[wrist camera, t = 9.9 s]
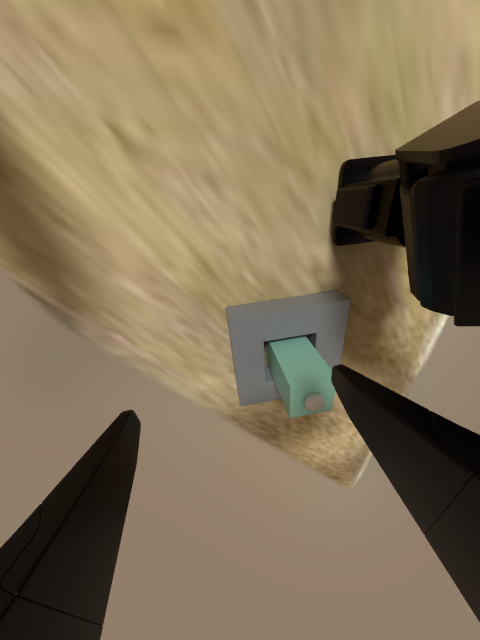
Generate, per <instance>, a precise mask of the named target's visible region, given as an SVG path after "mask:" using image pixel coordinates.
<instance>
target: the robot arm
mask: <svg viewBox="0 0 480 640" xmlns="http://www.w3.org/2000/svg"><path fill="white" fill-rule="evenodd" d="M395 153H396V155H390V156H380V157H370V158H360V159H350V160H347V161H345V162H344V163H343V164H342V166H341V171H340V180H339V189H338V191H337V194H336V204H335V213H334V224H335V225H334V234H333V243H334V244H335V245H337V246H342V245H350V244H357V243H364V242H372V241H379V242H383V243H387V244H392V245H396V246H401V247H405V248H406V255H407V265H408V277H409V284H410V291H411V293H412V294H413V295H414V296H415V297H416V298H417V299H418V300H419V301H420V304H421V306H422V307H424V308H427V309H429V310H431V311H434V312H438V313H442V314H446V315H450V316H454V325H456V326H480V101H477V102H475V103H474V104H472V105H470V106H468V107H467V108H465V109H463V110H462V111H460V112H458V113H457V114H455V115H453V116H452V117H450V118H448V119H447V120H445V121H443V122H441V123H440V124H438V125H436V126H435V127H433V128H431V129H430V130H428V131H426V132H425V133H423V134H421V135H420V136H418V137H416V138H415V139H413V140H411V141H410V142H408V143H406V144H405V145H403V146H401V147H400V148H398V149H396V150H395ZM348 164H349V166H350V168H349V170H348V171H347V168H346V167H347V165H348ZM339 238H340V241H339V242H338V239H339ZM331 382H332V384H333V386H334V388H335V390H336V392H337V394H338V396H339V398H340V400H341V402H342V404H343V406H344V408H345V410H346V412H347V414H348V416H349V417H350V419H351V421H352V422H353V424H354V425H355V427H356V429H357V430H358V432H359V433H360V435H361V436H362V438H363V440H364V441H365V443H366V444H367V446H368V447H369V449H370V451H371V452H372V454H373V455H374V457H375V458H376V460H377V461H378V463H379V465H380V466H381V468H382V469H383V471H384V472H385V474H386V476H387V477H388V479H389V480H390V482H391V484H392V485H393V487H394V488H395V490H396V491H397V493H398V494H399V496H400V498H401V499H402V501H403V502H404V504H405V506H406V507H407V509H408V510H409V512H410V513H411V515H412V516H413V518H414V520H415V521H416V523H417V524H418V526H419V527H420V529H421V531H422V532H423V534H425V537H426V539H427V540H428V542H429V543H430V545H431V547H432V548H433V550H434V551H435V553H436V554H437V556H438V558H439V559H440V561H441V562H442V564H443V565H444V567H445V569H446V570H447V572H448V573H449V575H450V576H451V578H452V579H453V581H454V583H455V584H456V586H457V587H458V589H459V590H460V592H461V594H462V595H463V597H464V598H465V600H466V601H467V603H468V605H469V606H470V608H471V609H472V611H473V613H474V614H475V615H476V617H477V619H478V620H479V622H480V435H479V434H477V433H475V432H472V431H470V430H468V429H466V428H464V427H462V426H460V425H458V424H456V423H454V422H452V421H450V420H448V419H446V418H444V417H442V416H440V415H438V414H436V413H434V412H432V411H429V410H428V409H427V408H425V407H423V406H421V405H419V404H417V403H415V402H413V401H411V400H409V399H407V398H406V397H404V396H402V395H400V394H398V393H396V392H394V391H392V390H390V389H388V388H386V387H385V386H383V385H381V384H379V383H377V382H375V381H373V380H371V379H369V378H367V377H365V376H364V375H362V374H360V373H358V372H356V371H354V370H352V369H350V368H348V367H346V366H344V365H342V364H340V365H335V366H333V367H332V375H331ZM140 427H141V424H140V421H139V419H138V417H137V415H136V413H135V412H134V411H133V410H127V411H124V412H122V413H120V415H119V416H118V417H117V418H116V419H115V420H114V422H113V423H112V424H111V425H110V426H109V427H108V428H107V429H106V430H105V432H104V433H103V434H102V435H101V436H100V437H99V438H98V439H97V441H96V442H95V443H94V444H93V445H92V446H91V448H90V449H89V450H88V451H87V452H86V453H85V454H84V455H83V457H82V458H81V459H80V460H79V461H78V462H77V463H76V464H75V466H74V467H73V468H72V469H71V470H70V471H69V472H68V474H66V476H65V477H64V478H63V479H62V480H61V481H60V482H59V484H58V485H57V486H56V487H55V488H54V489H53V490H52V492H51V493H50V494H49V495H48V496H47V497H46V498H45V499H44V501H43V502H42V504H40V505H39V506H38V507H37V508H36V509H35V511H34V512H33V513H32V514H31V515H30V516H29V517H28V518H27V520H26V521H25V522H24V523H23V524H22V525H21V526H20V527H19V528H18V529H17V531H16V532H15V533H14V534H13V535H12V536H11V537H10V538H9V539H8V540H7V541H6V542H5V543H4V545H3V546H2V547H1V548H0V640H100V637H101V633H102V628H103V626H102V625H103V623H104V618H105V613H106V608H107V604H108V599H109V594H110V589H111V584H112V580H113V575H114V570H115V565H116V560H117V556H118V551H119V546H120V541H121V536H122V531H123V527H124V522H125V517H126V513H127V508H128V503H129V499H130V493H131V489H132V484H133V479H134V474H135V470H136V464H137V457H138V447H139V438H140V437H139V436H140Z"/></svg>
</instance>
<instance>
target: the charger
mask: <svg viewBox="0 0 480 640" xmlns="http://www.w3.org/2000/svg"><path fill="white" fill-rule="evenodd" d="M266 359H267V363H268V366H269V368H270V371H271V373H272V376H273V378H274V381H275V383H276V386H277V388H278V391H279V393H280V396H281V398H282V401H283V403H284V406H285V408H286V411H287V413H288V416H289V418H295V417H300V416H305V415H309V414H314V413H319V412H324V411H329V410H332V407H333V401H334V395H335V388H334V386H333V384H332V382H331V375H332V370H331V369H330V367H329V366H328V365H327V363H326V362H325V361H324V360H323V358H322V357H321V356H320V354H319V353H318V352H317V350H316V349H315V348H314V346H313V345H312V344H311V343H310V341H309V340H308V339H307V337H306V336H305V335H300V336H294V337H288V338H283V339H277V340H271V341H266Z"/></svg>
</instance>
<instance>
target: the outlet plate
mask: <svg viewBox="0 0 480 640" xmlns="http://www.w3.org/2000/svg"><path fill="white" fill-rule="evenodd" d="M350 304H351V299H350V298H348V297H347V296H345V295H344V294H342V293H341V292H339V291H338V290H335V291H329V292H322V293H316V294H309V295H303V296H296V297H290V298H283V299H277V300H270V301H264V302H257V303H251V304H244V305H238V306H231V307H226V314H227V321H228V328H229V335H230V342H231V349H232V355H233V362H234V369H235V376H236V383H237V390H238V395H239V401H240V406H245V405H250V404H255V403H261V402H266V401H271V400H276V399H281V396H280V393H279V391H278V388H277V386H276V383H275V381H274V378H273V376H272V373H271V371H270V368H269V366H265V360H264V342H265V341H271V340H277V339H283V338H288V337H294V336H300V335H306V337H307V339H308V340H309V341H310V343H311V344H312V345H313V346H314V348H315V349H316V350H317V352H318V353H319V354H320V356H321V357H322V358H323V360H324V361H325V362H326V363H327V365H328V366H329V367H330V369H331V370H332V367H333V366H335V365H340V362H341V356H342V350H343V344H344V339H345V333H346V327H347V321H348V316H349V310H350Z"/></svg>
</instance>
